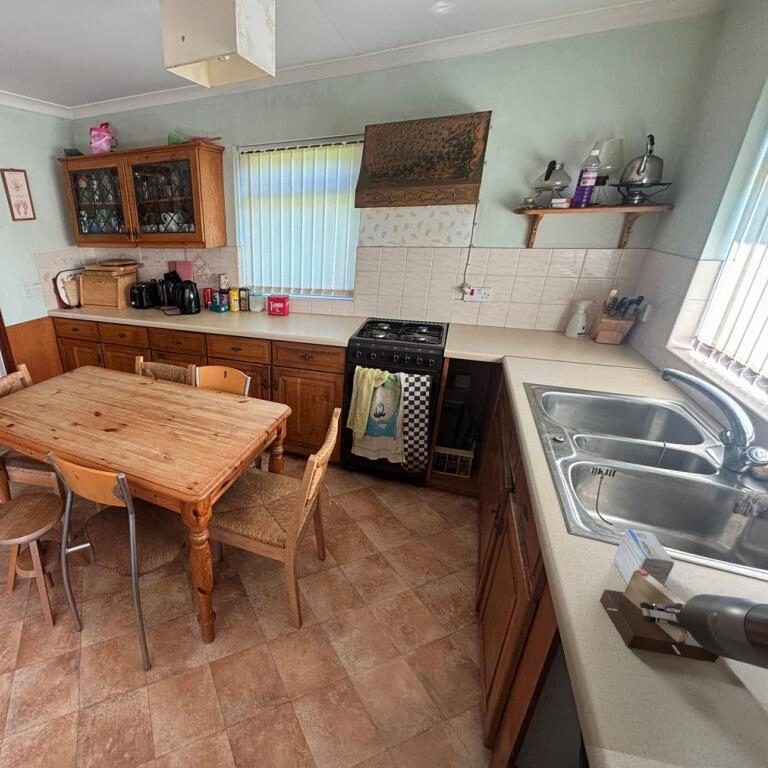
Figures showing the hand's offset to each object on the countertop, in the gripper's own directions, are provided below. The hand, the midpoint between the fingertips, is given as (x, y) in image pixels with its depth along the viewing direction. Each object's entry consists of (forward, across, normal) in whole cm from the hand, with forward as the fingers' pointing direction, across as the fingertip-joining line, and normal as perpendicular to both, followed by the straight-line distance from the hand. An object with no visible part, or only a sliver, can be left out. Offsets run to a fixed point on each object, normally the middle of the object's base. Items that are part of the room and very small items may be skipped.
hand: (650, 611), depth 67 cm
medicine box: (+14, +6, +5) cm, 17 cm away
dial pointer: (+4, +3, -1) cm, 5 cm away
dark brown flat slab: (+6, +4, -3) cm, 8 cm away
